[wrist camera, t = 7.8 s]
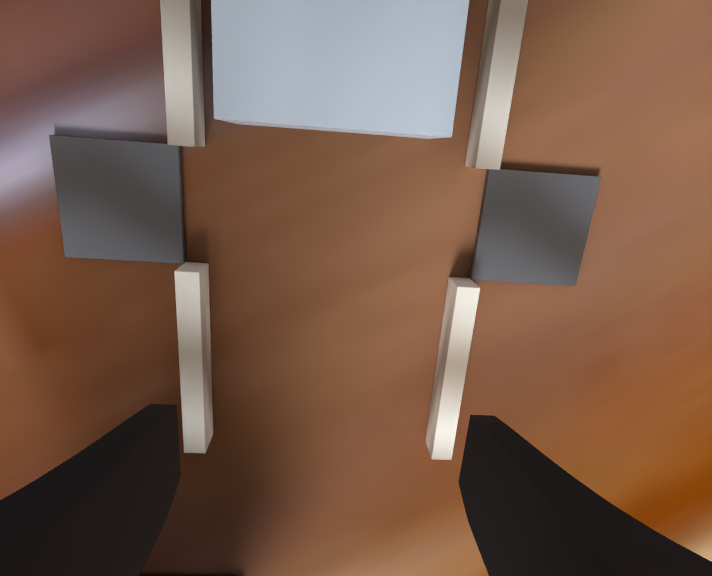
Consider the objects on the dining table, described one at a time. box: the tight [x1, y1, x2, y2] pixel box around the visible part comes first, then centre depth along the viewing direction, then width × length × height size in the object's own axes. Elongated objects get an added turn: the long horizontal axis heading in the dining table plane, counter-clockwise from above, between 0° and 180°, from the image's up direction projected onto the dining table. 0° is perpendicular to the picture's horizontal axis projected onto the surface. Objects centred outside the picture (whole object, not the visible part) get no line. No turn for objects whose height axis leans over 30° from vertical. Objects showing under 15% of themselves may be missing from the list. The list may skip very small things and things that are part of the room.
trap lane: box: [49, 0, 601, 460], centre depth 18 cm, size 24×23×3 cm
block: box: [211, 0, 469, 139], centre depth 16 cm, size 6×8×4 cm
